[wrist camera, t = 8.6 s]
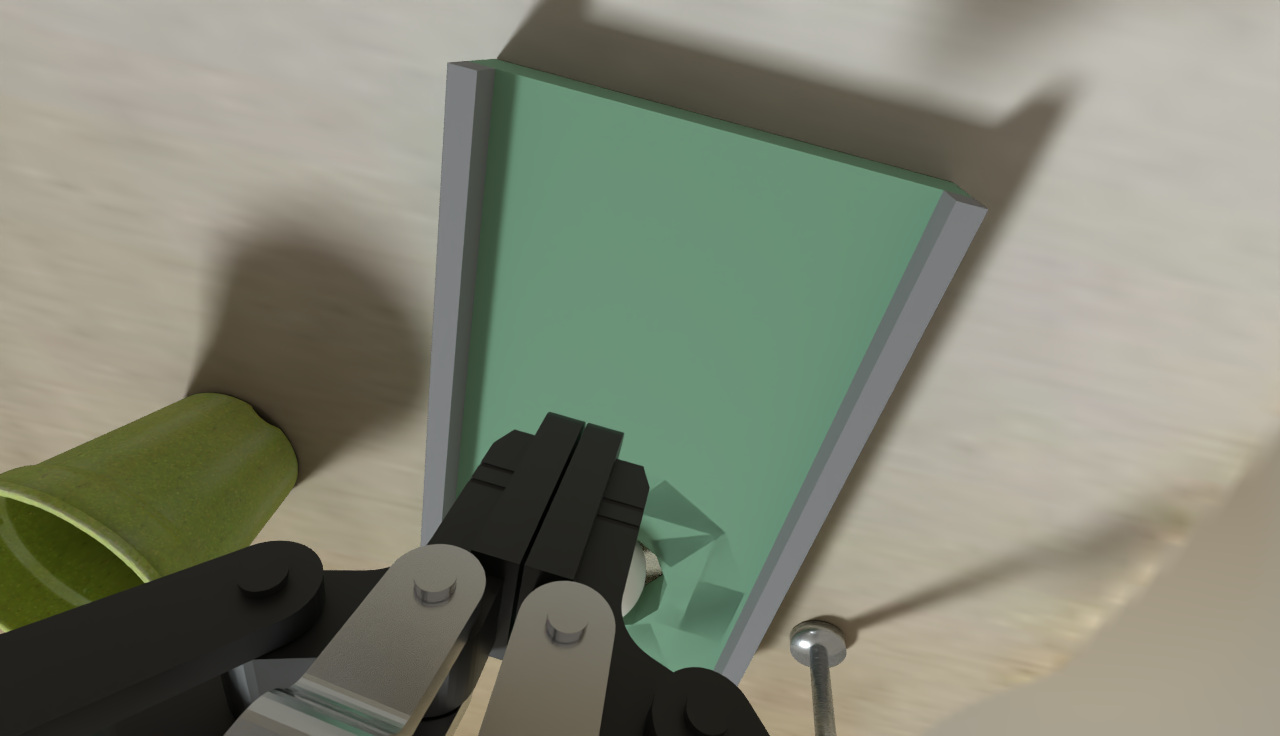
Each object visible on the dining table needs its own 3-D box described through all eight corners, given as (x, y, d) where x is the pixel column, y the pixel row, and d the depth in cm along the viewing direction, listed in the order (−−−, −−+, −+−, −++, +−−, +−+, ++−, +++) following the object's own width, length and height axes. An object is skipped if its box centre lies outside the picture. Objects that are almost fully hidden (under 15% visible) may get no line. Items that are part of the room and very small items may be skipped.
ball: (551, 543, 28) (563, 480, 25) (643, 571, 28) (664, 509, 25) (518, 630, 24) (527, 567, 22) (622, 663, 24) (645, 602, 22)
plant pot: (303, 365, 25) (109, 504, 18) (355, 534, 30) (218, 701, 22) (113, 348, 27) (-141, 470, 19) (190, 511, 31) (9, 662, 24)
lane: (495, 58, 18) (447, 62, 15) (952, 182, 18) (988, 209, 15) (447, 583, 30) (415, 638, 27) (717, 667, 30) (712, 732, 27)
